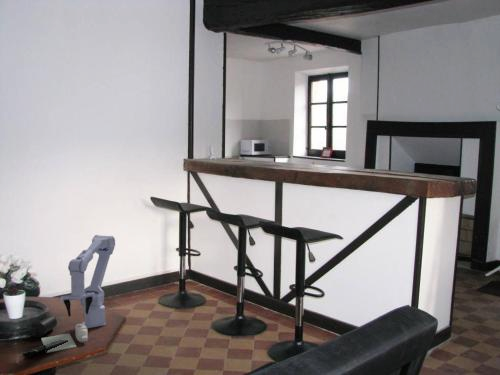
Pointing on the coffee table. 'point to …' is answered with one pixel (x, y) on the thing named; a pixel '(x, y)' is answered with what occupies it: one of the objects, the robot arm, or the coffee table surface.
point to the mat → (56, 338)
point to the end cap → (43, 325)
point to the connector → (81, 332)
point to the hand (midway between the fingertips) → (78, 314)
